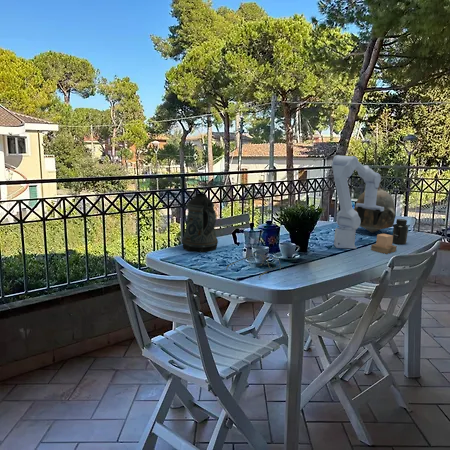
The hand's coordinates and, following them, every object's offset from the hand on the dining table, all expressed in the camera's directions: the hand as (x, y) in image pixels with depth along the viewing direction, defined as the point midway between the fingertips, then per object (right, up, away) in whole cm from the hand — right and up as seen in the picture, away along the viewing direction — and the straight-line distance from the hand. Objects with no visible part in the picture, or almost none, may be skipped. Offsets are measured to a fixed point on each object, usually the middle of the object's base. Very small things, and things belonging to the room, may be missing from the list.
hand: (368, 223), depth 213 cm
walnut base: (+2, -13, -15) cm, 20 cm away
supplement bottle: (+16, -10, +1) cm, 19 cm away
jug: (+10, -5, +23) cm, 25 cm away
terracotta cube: (+2, -10, -16) cm, 19 cm away
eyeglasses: (-60, -19, -48) cm, 79 cm away
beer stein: (-82, -12, -17) cm, 85 cm away
